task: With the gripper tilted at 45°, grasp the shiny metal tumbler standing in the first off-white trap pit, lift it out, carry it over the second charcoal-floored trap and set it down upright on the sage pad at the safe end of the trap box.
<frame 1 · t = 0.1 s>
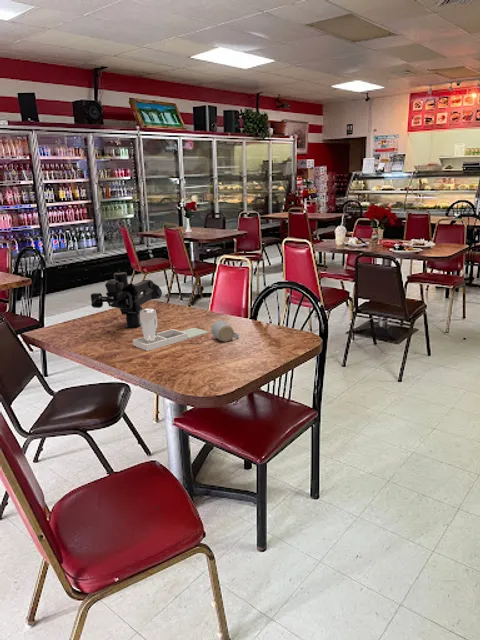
hand: (101, 305, 202), 17 cm above the table, tool horizontal, fingers open, 9 cm apart
ceramic mug: (226, 339, 204), on the table
trap box: (171, 339, 207), on the table
shiny metal tumbler: (151, 345, 201), resting in trap box
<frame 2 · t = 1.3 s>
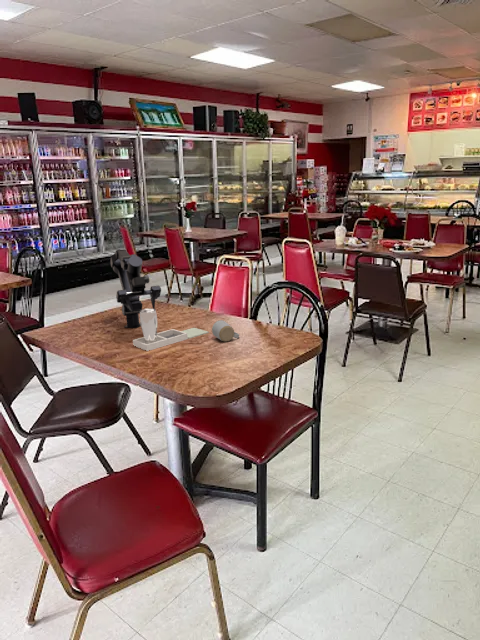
hand: (143, 310, 204), 13 cm above the table, tool tilted 45°, fingers open, 9 cm apart
nothing on the table moved.
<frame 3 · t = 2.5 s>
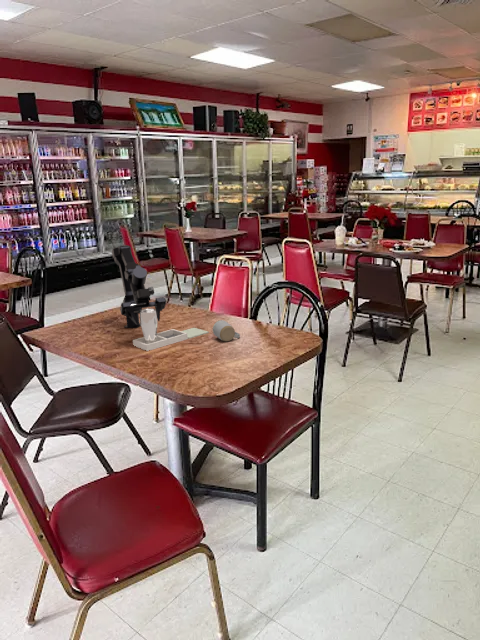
hand: (148, 322, 199), 9 cm above the table, tool tilted 45°, fingers open, 9 cm apart
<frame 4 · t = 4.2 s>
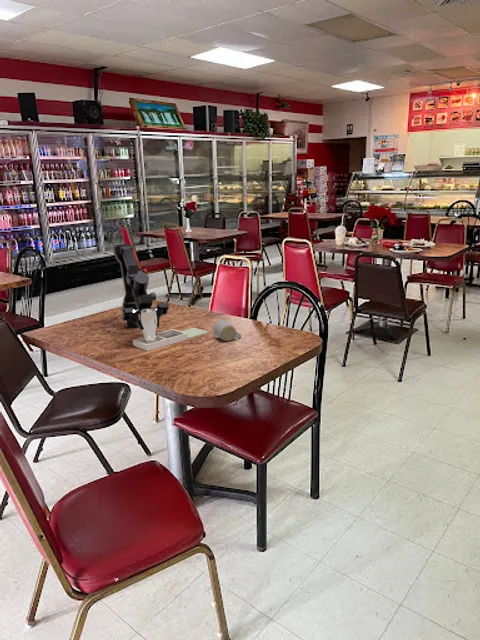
hand: (150, 328, 197), 8 cm above the table, tool tilted 45°, fingers closed on shiny metal tumbler, 6 cm apart
shiny metal tumbler: (151, 345, 201), resting in trap box, touching gripper
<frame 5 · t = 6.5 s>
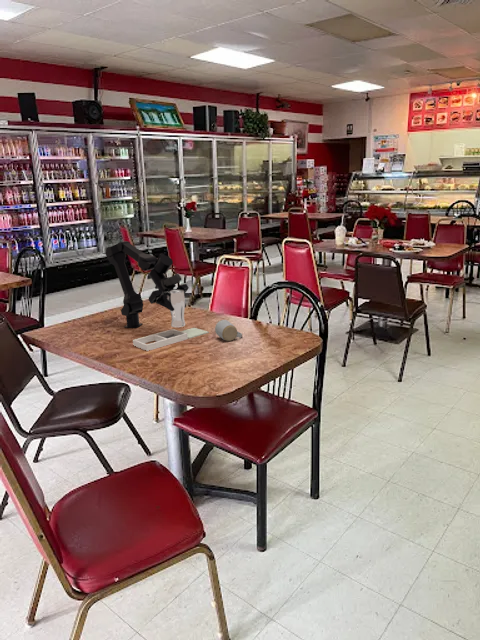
hand: (179, 308, 204), 13 cm above the table, tool tilted 45°, fingers closed on shiny metal tumbler, 6 cm apart
shiny metal tumbler: (178, 325, 207), point 5 cm above the table, touching gripper
when the fingers open (9 cm above the table, at t = 9.0 s): shiny metal tumbler drops 1 cm, resting on trap box.
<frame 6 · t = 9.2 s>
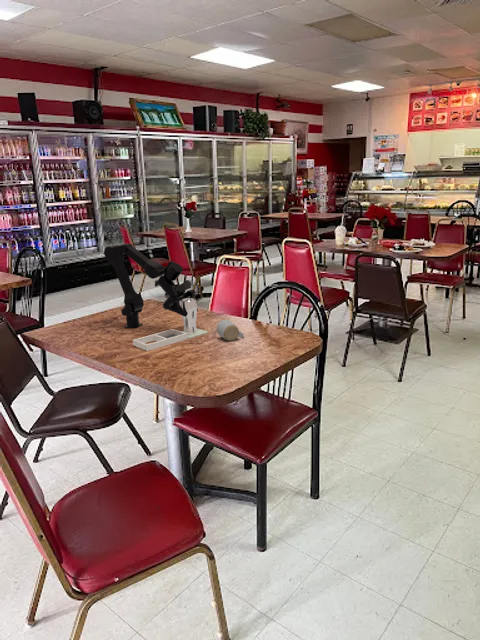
hand: (191, 313, 211), 9 cm above the table, tool tilted 45°, fingers open, 8 cm apart
shiny metal tumbler: (190, 333, 214), resting on trap box
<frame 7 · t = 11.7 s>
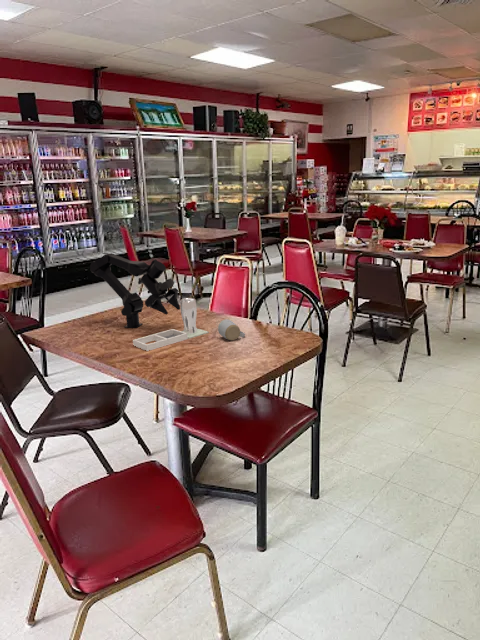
hand: (173, 311, 215), 9 cm above the table, tool tilted 45°, fingers open, 9 cm apart
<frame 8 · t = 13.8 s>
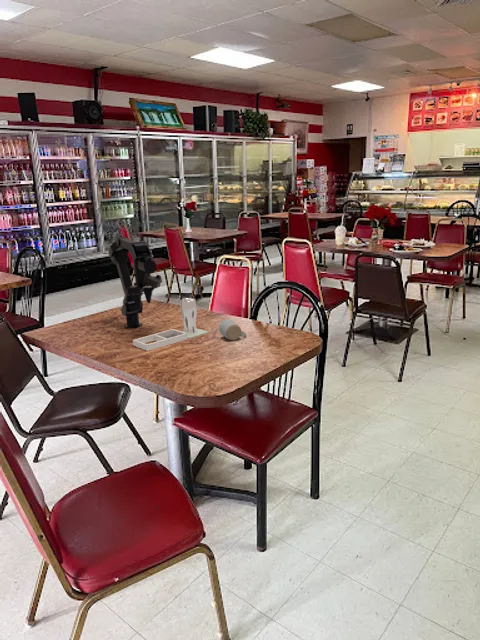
hand: (144, 305, 214), 13 cm above the table, tool pointing down, fingers open, 9 cm apart
at the end: shiny metal tumbler inside the target area (0.4 cm from its centre), resting on trap box; shiny metal tumbler tilted 0°; the gripper is holding nothing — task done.
